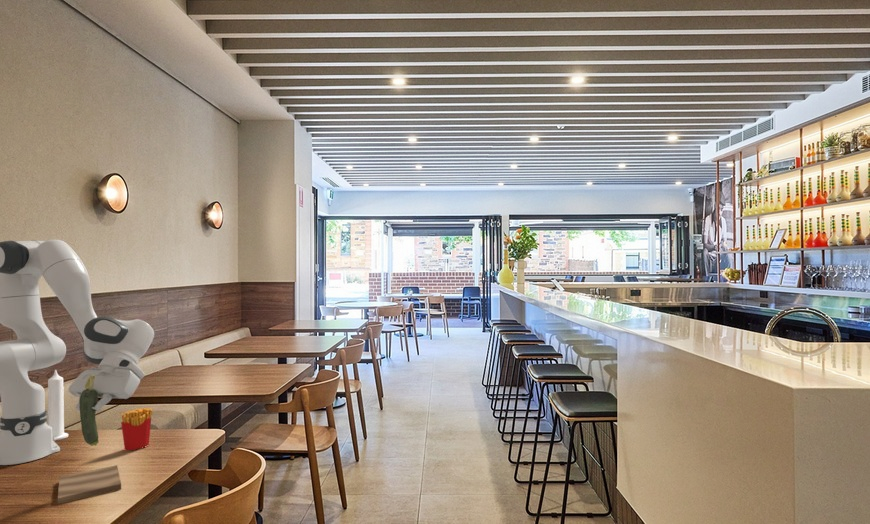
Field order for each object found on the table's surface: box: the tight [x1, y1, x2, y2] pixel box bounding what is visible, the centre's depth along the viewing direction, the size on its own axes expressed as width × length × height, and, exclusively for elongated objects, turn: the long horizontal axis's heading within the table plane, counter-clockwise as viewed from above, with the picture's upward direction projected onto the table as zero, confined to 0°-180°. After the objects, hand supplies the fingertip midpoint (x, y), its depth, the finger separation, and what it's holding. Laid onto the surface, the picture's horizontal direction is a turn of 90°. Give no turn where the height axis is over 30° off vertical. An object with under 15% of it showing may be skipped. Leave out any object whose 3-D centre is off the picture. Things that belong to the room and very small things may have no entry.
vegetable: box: [78, 374, 100, 447], centre depth 141 cm, size 4×4×20 cm
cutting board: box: [57, 464, 122, 505], centre depth 141 cm, size 17×14×2 cm
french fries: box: [120, 407, 153, 451], centre depth 172 cm, size 9×4×13 cm, turn 131°
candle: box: [47, 369, 69, 442], centre depth 184 cm, size 7×7×25 cm
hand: (86, 409), depth 141 cm, fingers closed on vegetable, 4 cm apart
